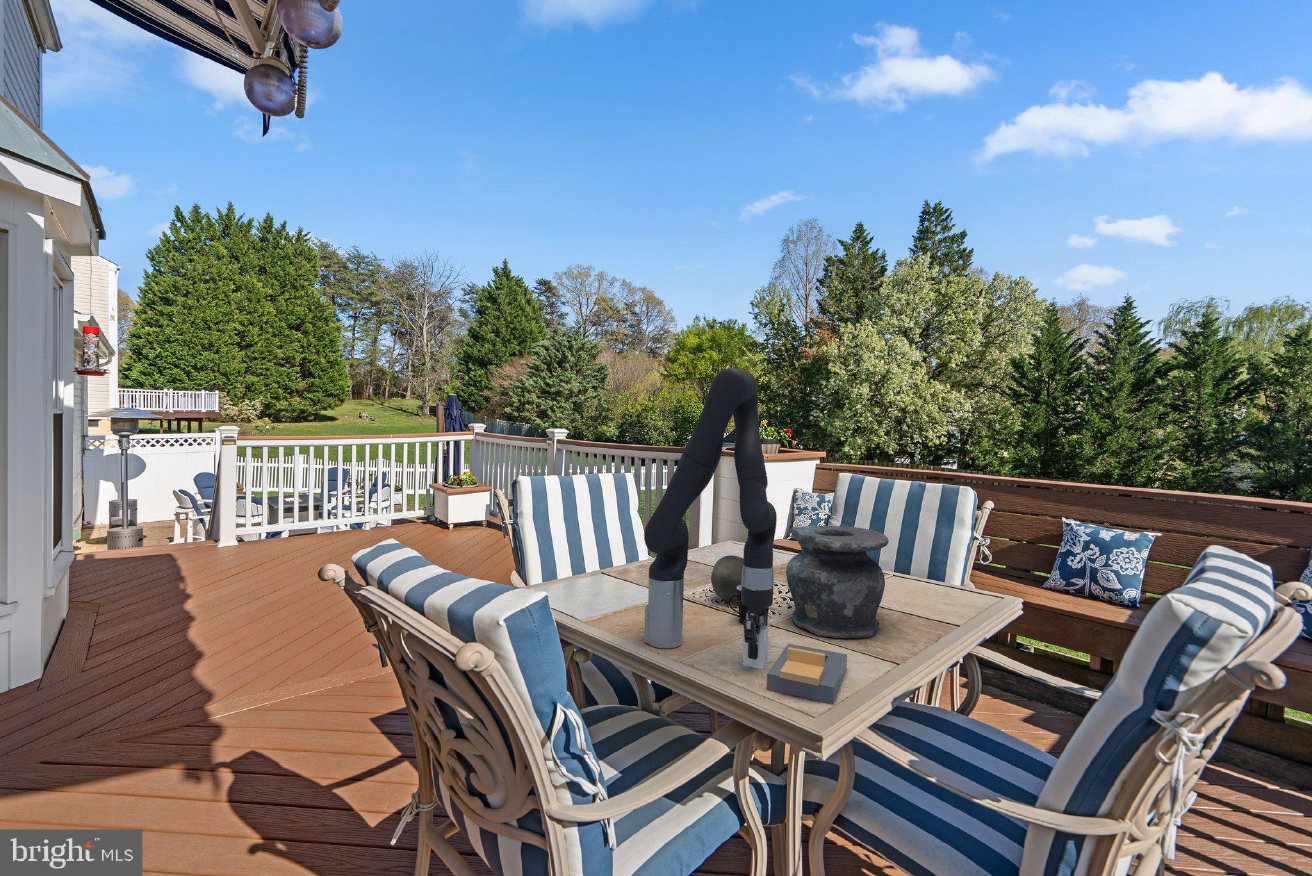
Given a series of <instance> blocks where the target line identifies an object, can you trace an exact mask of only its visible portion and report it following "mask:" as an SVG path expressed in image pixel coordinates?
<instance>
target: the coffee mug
mask: <svg viewBox="0 0 1312 876" xmlns="http://www.w3.org/2000/svg"><path fill="white" fill-rule="evenodd" d="M741 589H742V585H740V586H737V595H732V596H731V597H730V598H729V601H727V604H728V607H729V608H730V609H731V610H732V611H733V612H735V613H737V614H738V617H739V618H738V619H739V623H740V624H742V625H743V621H744V620H747V619H746V614H747V612H748V609H749V608H748V606H746V605H744V604H743V603H742V602H741ZM733 597H737V598H738V600H737V606H738V607H737V608H738V610H737V609H735V608H734V607H733V606H732V604H731V602H730V601H731V599H732V598H733Z"/></svg>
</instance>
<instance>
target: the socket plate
mask: <svg viewBox="0 0 1312 876" xmlns="http://www.w3.org/2000/svg"><path fill="white" fill-rule="evenodd" d="M789 647H791V648H797V649H802V650H807V651H813V652H818V653H823V654H825V672H824V674H823V676H822V678H821V681H820V683H819V685H818V686H817V685H813V684H808V683H803V682H798V681H794V680H789V679H784V678H780V670H781V669H782V667H783V666H784V664H785V663H786V661H787V655H788V648H789ZM847 664H848V654H847V653H842V652H837V651H831V650H825V649H820V648H813V647H809V646H804V645H798V644H794V643H793V644H792V643H787V644H786V646H785V647H784V649H783V650H782V651H781V654H779V656H778V657H777V659H776V660H775V662H774V663H773V664H772V666H771V667H770V669H769V671H768V672H767V674H766V690H767V691H771V692H777V693H781V694H785V695H790V696H795V697H798V698H802V699H803V698H804V699H807V700H813V701H817V702H822V703H826V704H830V703H832V705H834V704H833V703H835V701H836V698H837V695H838V693H839V691H840V687H841V685H842V682H843V679H844V677H845V675H844V674H846V672H847V667H848V665H847Z"/></svg>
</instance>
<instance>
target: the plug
mask: <svg viewBox="0 0 1312 876" xmlns="http://www.w3.org/2000/svg"><path fill="white" fill-rule="evenodd" d="M769 628H770V627H769V625H767V626H765V627H764V626H762V630H761V633H760V634H759V640H758V641H759V642H758V658H757V659H756V660H754V659H750V658H748V643H746V642H745V637H744V635H743V638H742V639H743V640H742V642H743V643H742V666H744V667H748V668H749V667H750V668H755V669H759V670H764V669H765V668H766V667H767V665H768V661H769V660H768V659H769V658H768V657H769ZM755 629H756V630H758V629H757V628H755ZM751 638H753V637H752V636H751Z"/></svg>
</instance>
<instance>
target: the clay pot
mask: <svg viewBox="0 0 1312 876" xmlns="http://www.w3.org/2000/svg"><path fill="white" fill-rule="evenodd" d="M789 532H790V533H791V534H792V536H793V537H794V538H795V540H796V542H797V543H798V544H799V546H800V549H801V551H800V552H798V553H797V554H796V555H794V556H793V557H792V558H790V560H789V561H788V563H787V565H786V570H785V575H786V582H787V586H788V590H789V592H790V596H791V597H792V601H793V603H794V604H793V605H794V607H795V609H794V611H792V614H791V619H792V621H793V623H794V625H795V626H797V627H799V628H800V629H804V630H807V631H809V633H812V634H814V635H816V636H817V637H827V638H833V639H858V638H859V639H860V638H870V637H873V636H874V635H876V633H877V632H878V627H879V625H880V623H879V621H878V620H877V613H878V611H879V608H880V605H881V602H882V600H883V596H884V592H885V587H886V579H885V574H884V571H883V569H882V567H881V566H880V564H878V563H877V562H876V561H875V560H874V559H872V558H871V557H870V556H868V554H867V551H868V552H869V551H870V552H871V551H876V550H881V549H883V548H884V547H887V545H888V544H889V543H890V542H889V537H887V536H886V534H883V532H880V531H878V530H874V529H868V528H864V527H863V528H861V527H856V526H846V525H845V526H843V525H841V526H840V525H807V526H805V525H804V526H793V528H790V530H789Z"/></svg>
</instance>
